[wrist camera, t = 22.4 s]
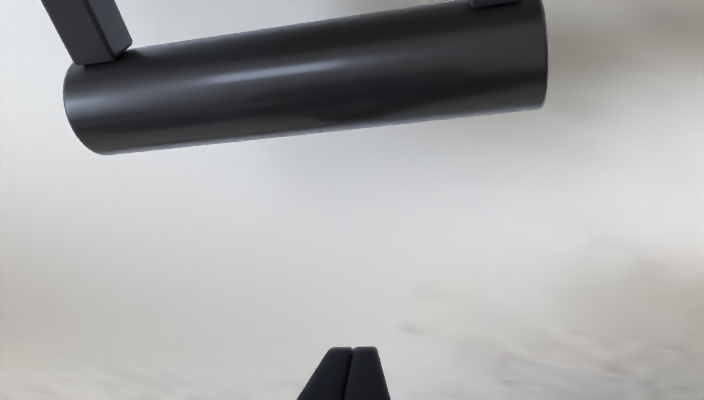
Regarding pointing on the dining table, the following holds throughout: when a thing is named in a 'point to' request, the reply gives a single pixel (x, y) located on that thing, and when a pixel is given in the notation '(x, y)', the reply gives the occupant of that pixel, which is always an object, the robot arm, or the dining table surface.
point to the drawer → (298, 74)
